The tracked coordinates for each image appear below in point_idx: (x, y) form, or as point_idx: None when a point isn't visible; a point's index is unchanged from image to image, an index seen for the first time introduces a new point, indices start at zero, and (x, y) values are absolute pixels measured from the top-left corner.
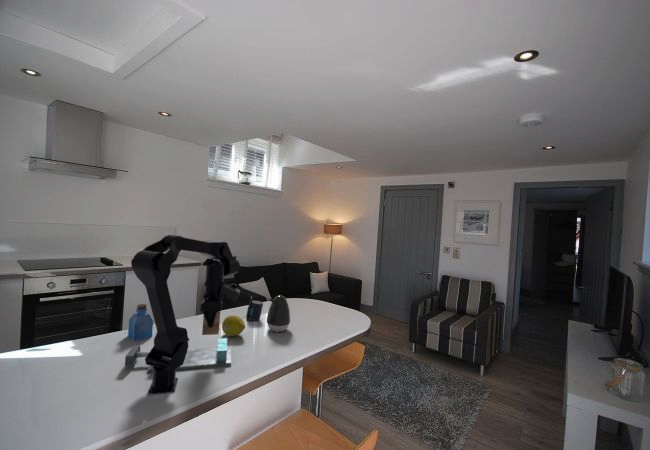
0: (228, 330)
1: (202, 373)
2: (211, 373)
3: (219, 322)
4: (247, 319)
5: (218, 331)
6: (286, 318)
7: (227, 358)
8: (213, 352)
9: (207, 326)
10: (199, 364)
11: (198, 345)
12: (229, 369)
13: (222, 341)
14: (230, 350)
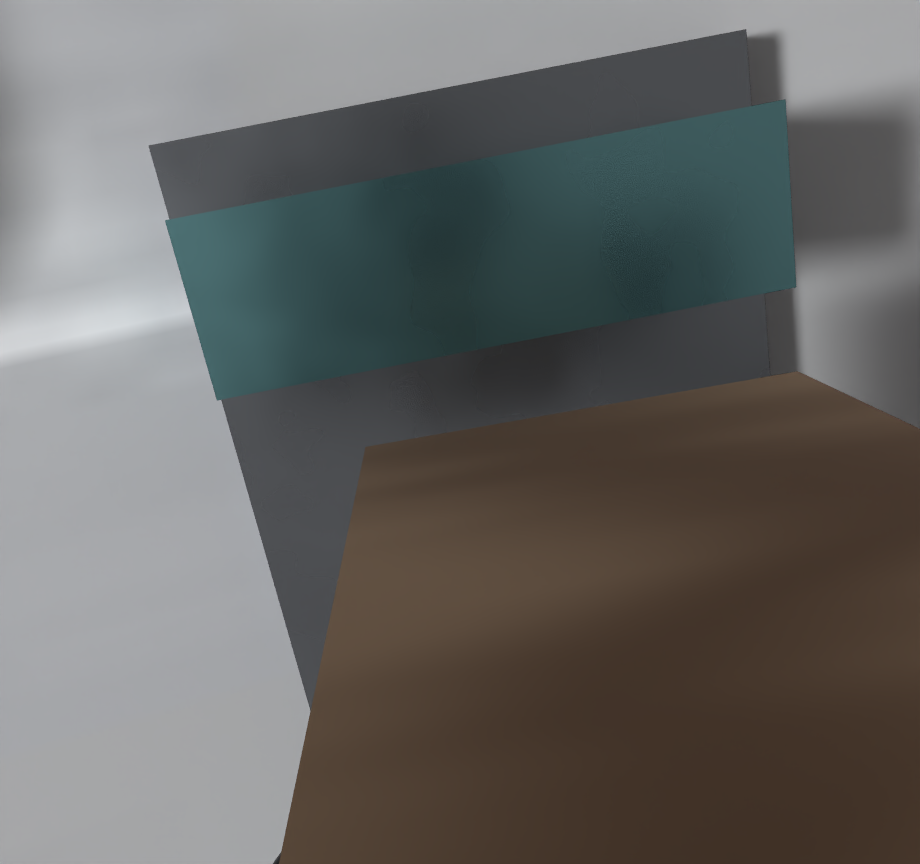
0: None
1: (890, 387)
2: (907, 276)
3: (513, 519)
4: None
5: (835, 395)
6: None
7: (594, 119)
8: (388, 388)
9: None
10: None
11: (83, 656)
12: (833, 40)
13: (347, 283)
14: (295, 121)
